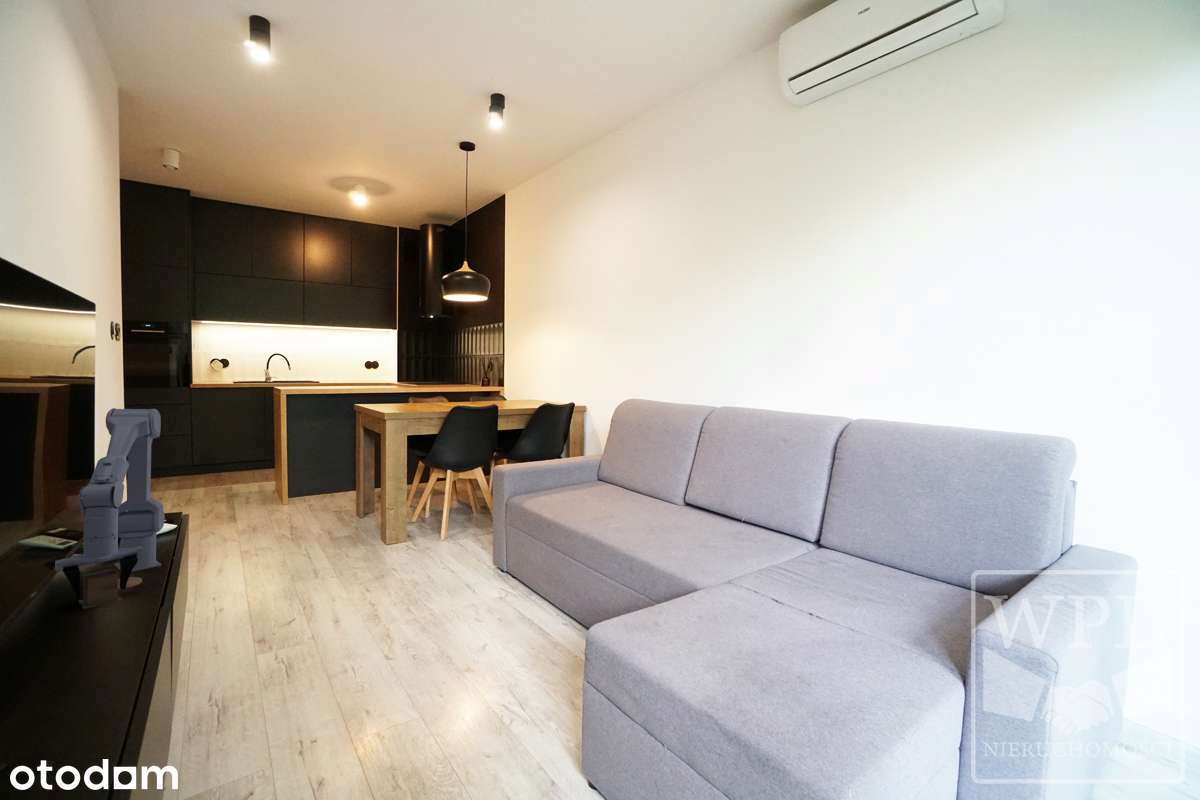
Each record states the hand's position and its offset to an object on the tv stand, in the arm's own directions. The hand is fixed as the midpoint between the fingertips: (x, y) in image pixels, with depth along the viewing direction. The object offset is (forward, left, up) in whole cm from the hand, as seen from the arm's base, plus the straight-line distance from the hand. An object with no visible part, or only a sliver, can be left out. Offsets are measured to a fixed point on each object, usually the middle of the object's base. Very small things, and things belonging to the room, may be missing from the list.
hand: (100, 593), depth 120 cm
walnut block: (0, 0, -2) cm, 2 cm away
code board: (0, 0, -2) cm, 2 cm away
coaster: (-9, +5, -2) cm, 10 cm away
